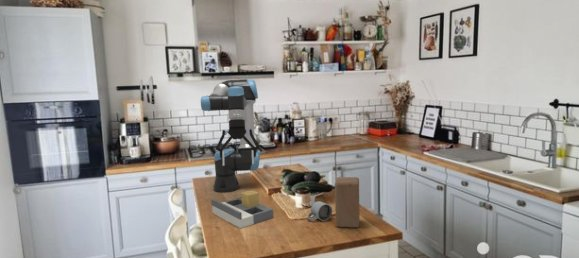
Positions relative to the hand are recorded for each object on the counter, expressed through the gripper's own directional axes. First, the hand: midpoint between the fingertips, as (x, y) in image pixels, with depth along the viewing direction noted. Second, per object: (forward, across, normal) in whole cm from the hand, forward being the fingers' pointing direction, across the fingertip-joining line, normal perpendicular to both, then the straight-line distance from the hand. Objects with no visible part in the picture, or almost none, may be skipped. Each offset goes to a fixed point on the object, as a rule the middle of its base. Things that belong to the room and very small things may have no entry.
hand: (238, 164), depth 179 cm
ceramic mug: (+26, +36, -6) cm, 45 cm away
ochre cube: (+20, +5, +8) cm, 22 cm away
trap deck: (+24, +1, +7) cm, 25 cm away
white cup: (+22, +35, +13) cm, 43 cm away
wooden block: (+28, +47, -15) cm, 57 cm away
